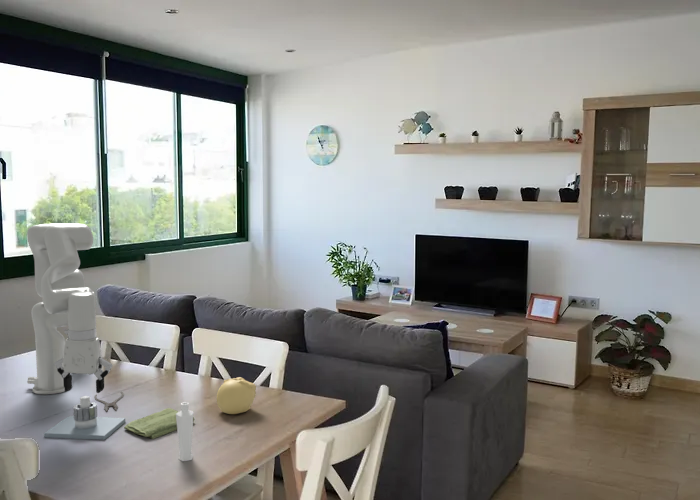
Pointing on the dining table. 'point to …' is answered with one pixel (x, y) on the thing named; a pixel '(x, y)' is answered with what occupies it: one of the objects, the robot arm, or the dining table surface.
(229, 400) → the pale yellow round lump
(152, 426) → the washcloth
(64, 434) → the piston block
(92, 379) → the dining table surface
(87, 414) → the ring
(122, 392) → the pliers
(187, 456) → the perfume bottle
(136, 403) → the dining table surface
